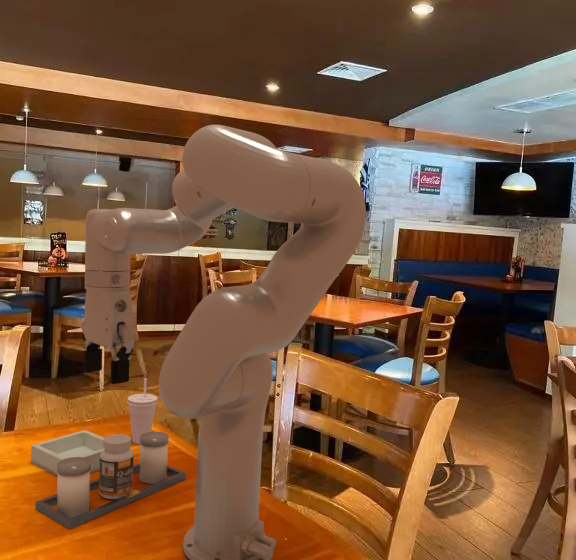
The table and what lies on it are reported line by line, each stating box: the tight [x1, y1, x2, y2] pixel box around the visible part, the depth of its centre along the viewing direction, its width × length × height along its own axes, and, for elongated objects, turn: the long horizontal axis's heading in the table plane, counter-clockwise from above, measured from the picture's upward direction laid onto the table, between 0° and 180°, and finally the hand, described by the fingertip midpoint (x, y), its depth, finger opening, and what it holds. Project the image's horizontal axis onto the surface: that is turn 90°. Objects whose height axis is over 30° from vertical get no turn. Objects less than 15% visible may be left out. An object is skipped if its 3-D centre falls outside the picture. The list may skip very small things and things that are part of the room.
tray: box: [30, 429, 105, 477], centre depth 116 cm, size 12×12×4 cm
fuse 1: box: [56, 457, 91, 518], centre depth 97 cm, size 5×5×8 cm
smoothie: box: [126, 377, 158, 445], centre depth 128 cm, size 6×6×14 cm
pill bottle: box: [98, 433, 135, 500], centre depth 104 cm, size 6×6×10 cm
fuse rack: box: [34, 462, 187, 530], centre depth 104 cm, size 10×25×1 cm, turn 144°
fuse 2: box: [138, 431, 170, 485], centre depth 111 cm, size 5×5×8 cm
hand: (105, 376), depth 104 cm, fingers open, 9 cm apart
